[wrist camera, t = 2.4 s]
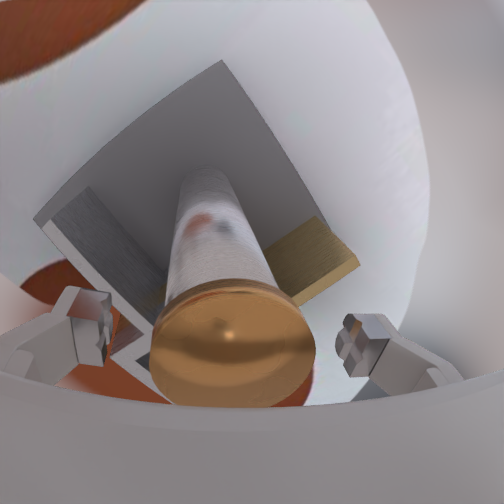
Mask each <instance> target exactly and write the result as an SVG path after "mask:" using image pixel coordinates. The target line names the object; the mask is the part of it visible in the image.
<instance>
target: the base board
mask: <svg viewBox="0 0 504 504" xmlns="http://www.w3.org/2000/svg"><path fill="white" fill-rule="evenodd" d="M202 165H210V166H214V167H217V168H219V169H220V170H222V171H223V172H224V173H225V175H226V176H227V178H228V180H229V182H230V184H231V186H232V188H233V190H234V193H235V195H236V197H237V199H238V201H239V203H240V205H241V208H242V210H243V212H244V214H245V216H246V218H247V221H248V223H249V225H250V227H251V229H252V231H253V233H254V236H255V238H256V240H257V242H258V244H259V246H260V249H261V251H263V250H264V249H266V248H267V247H269V246H270V245H272V244H273V243H275V242H276V241H278V240H279V239H281V238H282V237H284V236H285V235H287V234H288V233H290V232H291V231H293V230H294V229H296V228H297V227H299V226H300V225H302V224H303V223H304V222H306V221H307V220H309V219H310V218H312V217H313V216H316V217H317V218H318V219H319V220H320V221H321V222H322V223H324V224H325V225H326V226H327V227H328V228H329V226H328V224H327V222H326V220H325V219H324V217H323V215H322V213H321V212H320V210H319V208H318V206H317V205H316V203H315V201H314V200H313V198H312V196H311V194H310V193H309V191H308V189H307V188H306V186H305V184H304V183H303V181H302V179H301V178H300V176H299V174H298V173H297V171H296V169H295V168H294V166H293V165H292V163H291V161H290V160H289V158H288V156H287V155H286V153H285V152H284V150H283V149H282V147H281V145H280V144H279V142H278V141H277V139H276V138H275V136H274V134H273V133H272V131H271V130H270V128H269V127H268V125H267V124H266V122H265V121H264V119H263V118H262V116H261V115H260V113H259V112H258V110H257V109H256V107H255V106H254V104H253V103H252V101H251V100H250V98H249V97H248V96H247V94H246V93H245V91H244V90H243V88H242V87H241V85H240V84H239V83H238V81H237V80H236V78H235V77H234V76H233V74H232V73H231V71H230V70H229V69H228V67H227V66H226V64H225V63H224V62H223V60H220V61H219V62H217V63H216V64H214V65H212V66H211V67H209V68H208V69H206V70H204V71H203V72H201V73H200V74H198V75H197V76H195V77H194V78H192V79H191V80H189V81H188V82H186V83H185V84H183V85H182V86H180V87H179V88H178V89H176V90H175V91H173V92H172V93H171V94H169V95H168V96H166V97H165V98H164V99H162V100H161V101H160V102H158V103H157V104H156V105H154V106H153V107H152V108H150V109H149V110H148V111H146V112H145V113H144V114H143V115H141V116H140V117H139V118H137V119H136V120H135V121H134V122H133V123H131V124H130V125H129V126H128V127H126V128H125V129H124V130H123V131H122V132H120V133H119V134H118V135H117V136H116V137H115V138H113V139H112V140H111V141H110V142H109V143H108V144H107V145H105V146H104V147H103V148H102V149H101V150H100V151H99V152H98V153H97V154H95V155H94V156H93V157H92V158H91V159H90V160H89V161H88V162H87V163H86V164H85V165H84V166H83V167H82V168H81V169H80V170H78V171H77V172H76V173H75V174H74V175H73V176H72V177H71V178H70V179H69V180H68V181H67V182H66V183H65V184H64V185H63V187H62V188H61V189H60V190H59V191H58V192H57V193H56V194H55V195H54V196H53V197H52V198H51V199H50V200H49V201H48V202H47V204H46V205H45V206H44V207H43V208H42V209H41V210H40V211H39V212H38V214H37V215H36V216H35V217H34V218H33V220H34V221H35V222H36V224H37V225H38V226H39V227H40V229H41V230H42V227H43V226H44V225H45V224H46V223H47V222H48V221H49V220H50V219H51V218H52V217H53V216H54V215H55V214H56V213H57V212H59V211H60V210H61V209H62V208H63V207H64V206H65V205H67V204H68V203H69V202H70V201H71V200H72V199H74V198H75V197H76V196H77V195H78V194H79V193H81V192H82V191H83V190H84V189H85V188H87V187H88V186H89V187H90V188H91V189H92V191H93V192H94V193H95V194H96V195H97V197H98V198H99V199H100V200H101V202H102V203H103V204H104V205H105V206H106V208H107V209H108V210H109V211H110V212H111V213H112V215H113V216H114V217H115V218H116V219H117V221H118V222H119V223H120V224H121V225H122V226H123V228H124V229H125V230H126V231H127V232H128V233H129V234H130V236H131V237H132V238H133V239H134V240H135V241H136V242H137V243H138V245H139V246H140V247H141V248H142V249H143V250H144V251H145V252H146V254H147V255H148V256H149V257H150V258H151V259H152V260H153V261H154V262H155V263H156V265H157V266H158V267H159V268H160V269H161V270H162V271H163V270H165V269H166V268H167V267H169V265H170V257H171V249H172V242H173V235H174V228H175V221H176V214H177V208H178V202H179V196H180V190H181V184H182V181H183V179H184V177H185V176H186V174H187V173H188V172H189V171H191V170H192V169H194V168H196V167H198V166H202ZM329 229H330V228H329ZM330 230H331V229H330ZM42 231H43V230H42ZM46 236H47V235H46ZM47 237H48V236H47ZM52 243H53V242H52ZM53 244H54V243H53ZM54 245H55V244H54ZM60 252H61V251H60ZM61 253H62V252H61ZM62 254H63V253H62ZM69 262H70V261H69ZM70 263H71V262H70ZM71 264H72V263H71ZM72 265H73V264H72ZM73 266H74V265H73ZM74 267H75V266H74ZM86 280H87V279H86ZM87 281H88V280H87ZM88 282H89V281H88ZM89 283H90V282H89ZM90 284H91V283H90ZM91 285H92V284H91ZM92 286H93V285H92ZM93 287H94V286H93ZM94 288H95V287H94ZM95 289H96V288H95ZM96 290H97V289H96Z"/></svg>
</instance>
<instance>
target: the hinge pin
mask: <svg viewBox="0 0 504 504" xmlns="http://www.w3.org/2000/svg"><path fill="white" fill-rule="evenodd" d="M315 355H316V347H315V341H314V338H313V335H312V333H311V331H310V329H309V327H308V325H307V323H306V321H305V319H304V317H303V315H302V313H301V311H300V309H299V308H298V306H297V304H296V303H295V302H294V301H293V300H292V299H291V298H290V297H289V296H288V295H287V294H286V293H284V292H283V291H281V290H279V288H278V286H277V283H276V281H275V279H274V277H273V275H272V272H271V270H270V268H269V266H268V264H267V262H266V259H265V257H264V255H263V253H262V251H261V249H260V246H259V244H258V242H257V240H256V238H255V236H254V233H253V231H252V229H251V227H250V225H249V223H248V221H247V218H246V216H245V214H244V212H243V210H242V208H241V205H240V203H239V201H238V199H237V197H236V195H235V193H234V190H233V188H232V186H231V184H230V182H229V180H228V178H227V176H226V175H225V173H224V172H223V171H222V170H220V169H219V168H217V167H214V166H210V165H202V166H198V167H196V168H194V169H192V170H191V171H189V172H188V173H187V174H186V176H185V177H184V179H183V181H182V184H181V190H180V196H179V202H178V208H177V214H176V221H175V228H174V235H173V242H172V249H171V257H170V265H169V273H168V281H167V290H166V300H165V308H164V309H163V310H162V312H161V313H160V314H159V316H158V318H157V320H156V322H155V324H154V328H153V331H152V339H151V348H150V357H149V369H150V374H151V377H152V379H153V381H154V383H155V385H156V387H157V388H158V389H159V391H160V392H161V393H162V394H163V395H164V396H165V397H166V398H168V399H169V400H170V401H172V402H173V403H175V404H177V405H184V406H200V407H225V408H268V407H270V406H272V405H274V404H276V403H278V402H280V401H281V400H283V399H285V398H286V397H288V396H289V395H290V394H292V393H293V392H294V391H295V390H296V389H297V388H298V387H299V386H300V385H301V384H302V383H303V382H304V380H305V379H306V378H307V376H308V375H309V373H310V371H311V369H312V366H313V364H314V360H315Z"/></svg>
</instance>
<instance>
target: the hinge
mask: <svg viewBox="0 0 504 504" xmlns="http://www.w3.org/2000/svg"><path fill="white" fill-rule="evenodd" d="M42 230H43V232H44V233H45V234H46V235H47V236H48V238H49V239H50V240H51V241H52V242H53V243H54V244H55V246H56V247H57V248H58V249H59V250H60V251H61V252H62V253H63V255H64V256H65V257H66V258H67V259H68V260H69V261H70V262H71V263H72V264H73V265H74V266H75V268H76V269H77V270H78V271H79V272H80V273H81V274H82V275H83V276H84V277H85V278H86V279H87V280H88V281H89V282H90V283H91V284H92V285H93V286H94V287H95V288H96V289H97V290H98V291H104V292H110V293H111V295H112V305H113V306H114V307H115V308H116V309H117V310H118V311H119V312H120V313H121V315H120V318H119V322H118V326H117V330H116V333H115V337H114V341H113V345H112V349H111V354H110V358H111V359H112V360H114V361H115V362H116V363H117V364H119V365H120V366H121V367H122V368H124V369H125V370H126V371H128V372H129V373H130V374H132V375H133V376H134V377H136V378H137V379H138V380H140V381H141V382H142V383H144V384H145V385H147V386H148V387H149V388H151V389H152V390H153V391H155V392H156V393H158V394H159V395H161V396H162V397H164V398H165V399H167V400H168V401H169V402H171V403H172V404H174V405H177V404H175V403H173V402H172V401H170V400H169V399H168V398H166V397H165V396H164V395H163V394H162V393H161V392H160V391H159V389H158V388H157V387H156V385H155V383H154V381H153V379H152V377H151V374H150V369H149V357H150V348H151V339H152V331H153V328H154V324H155V322H156V320H157V318H158V316H159V314H160V313H161V312H162V310H163V309H164V308H165V300H166V290H167V281H168V273H169V267H167V268H166V269H165V270H163V271H162V270H161V269H160V268H159V267H158V266H157V265H156V263H155V262H154V261H153V260H152V259H151V258H150V257H149V256H148V255H147V254H146V252H145V251H144V250H143V249H142V248H141V247H140V246H139V245H138V243H137V242H136V241H135V240H134V239H133V238H132V237H131V236H130V234H129V233H128V232H127V231H126V230H125V229H124V228H123V226H122V225H121V224H120V223H119V222H118V221H117V219H116V218H115V217H114V216H113V215H112V213H111V212H110V211H109V210H108V209H107V208H106V206H105V205H104V204H103V203H102V202H101V200H100V199H99V198H98V197H97V195H96V194H95V193H94V192H93V191H92V189H91V188H90V187H89V186H88V187H87V188H85V189H84V190H83V191H82V192H81V193H79V194H78V195H77V196H76V197H75V198H74V199H72V200H71V201H70V202H69V203H68V204H67V205H65V206H64V207H63V208H62V209H61V210H60V211H59V212H57V213H56V214H55V215H54V216H53V217H52V218H51V219H50V220H49V221H48V222H47V223H46V224H45V225H44V226H43V227H42ZM262 253H263V255H264V257H265V259H266V262H267V264H268V266H269V268H270V270H271V272H272V275H273V277H274V279H275V281H276V283H277V286H278V288H279V290H281V291H283V292H284V293H286V294H287V295H288V296H289V297H290V298H291V299H292V300H293V301H294V302H295V303H296V304H297V306H298V307H299V306H301V305H302V304H304V303H305V302H307V301H308V300H310V299H311V298H313V297H314V296H316V295H317V294H319V293H320V292H322V291H323V290H325V289H326V288H328V287H329V286H331V285H332V284H334V283H335V282H337V281H338V280H340V279H341V278H343V277H344V276H346V275H347V274H349V273H350V272H351V271H353V270H354V269H356V268H357V267H359V266H360V263H359V261H358V259H357V257H356V255H355V254H354V253H353V252H352V251H351V250H350V249H349V248H348V247H347V246H346V245H345V244H344V243H343V242H342V241H341V240H340V239H339V238H338V237H337V236H336V235H335V234H334V233H333V232H332V231H331V230H330V229H329V228H328V227H327V226H326V225H325V224H324V223H322V222H321V221H320V220H319V219H318V218H317V217H316V216H313V217H312V218H310V219H309V220H307V221H306V222H304V223H303V224H302V225H300V226H299V227H297V228H296V229H294V230H293V231H291V232H290V233H288V234H287V235H285V236H284V237H282V238H281V239H279V240H278V241H276V242H275V243H273V244H272V245H270V246H269V247H267V248H266V249H264V250H263V251H262Z"/></svg>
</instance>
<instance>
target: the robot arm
mask: <svg viewBox="0 0 504 504" xmlns="http://www.w3.org/2000/svg"><path fill="white" fill-rule="evenodd" d="M111 306H112V295H111V293H110V292H104V291H98V290H92V289H87V288H81V287H74V286H67V287H66V288H65V289H64V291H63V293H62V294H61V296H60V297H59V299H58V301H57V302H56V304H55V306H54V307H53V309H52V311H51V313H44V314H42V315H40V316H38V317H36V318H34V319H32V320H30V321H28V322H27V323H24V324H22V325H20V326H19V327H16V328H14V329H12V330H10V331H8V332H7V333H5V334H3V335H1V336H0V504H504V369H501V370H499V371H495V372H492V373H489V374H486V375H482V376H479V377H475V378H472V379H468V380H464V379H463V377H462V376H461V375H460V374H459V372H458V371H457V370H456V369H455V368H454V366H453V365H452V364H451V363H449V362H447V361H446V360H444V359H442V358H440V357H438V356H437V355H435V354H433V353H431V352H430V351H428V350H426V349H424V348H423V347H421V346H419V345H417V344H416V343H414V342H412V341H410V340H409V339H407V338H403V337H402V336H401V335H400V333H399V332H398V331H397V330H396V328H395V327H394V326H393V325H392V323H391V322H390V321H389V320H388V318H387V317H386V316H385V315H383V314H348V315H347V316H346V317H345V319H344V321H343V325H344V328H343V329H342V330H341V331H340V332H339V333H338V335H337V338H336V343H335V348H336V352H337V354H338V356H339V357H340V358H341V359H343V360H344V364H343V366H344V368H345V369H346V371H347V373H348V375H349V377H367V376H369V378H370V379H371V380H372V381H374V382H375V383H376V384H377V385H378V386H380V387H381V388H382V389H383V390H384V391H385V392H387V393H388V394H389V395H390V397H383V398H377V399H370V400H362V401H354V402H345V403H335V404H324V405H311V406H295V407H269V408H225V407H200V406H184V405H172V404H160V403H151V402H142V401H135V400H127V399H120V398H114V397H107V396H101V395H95V394H90V393H85V392H80V391H75V390H70V389H66V388H61V387H57V386H54V385H55V384H56V383H57V382H58V381H60V380H61V379H62V378H63V377H64V376H65V375H67V374H68V373H69V372H70V371H71V370H72V369H74V368H75V367H76V366H77V365H78V363H81V364H87V365H94V366H101V367H103V366H104V362H105V358H106V355H107V344H109V343H110V341H111V337H112V330H113V316H112V314H111V313H110V309H111Z"/></svg>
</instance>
